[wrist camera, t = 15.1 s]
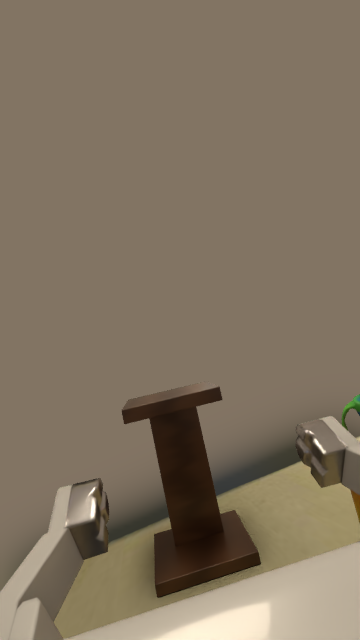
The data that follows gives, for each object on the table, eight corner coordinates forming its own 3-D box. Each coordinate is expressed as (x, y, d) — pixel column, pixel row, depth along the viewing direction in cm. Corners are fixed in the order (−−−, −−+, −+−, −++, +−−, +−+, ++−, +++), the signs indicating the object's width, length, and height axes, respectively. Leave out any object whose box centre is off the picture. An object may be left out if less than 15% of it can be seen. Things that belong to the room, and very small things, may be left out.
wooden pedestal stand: (157, 597, 28) (121, 410, 31) (156, 543, 37) (128, 399, 39) (261, 563, 30) (219, 386, 32) (236, 519, 38) (205, 381, 41)
